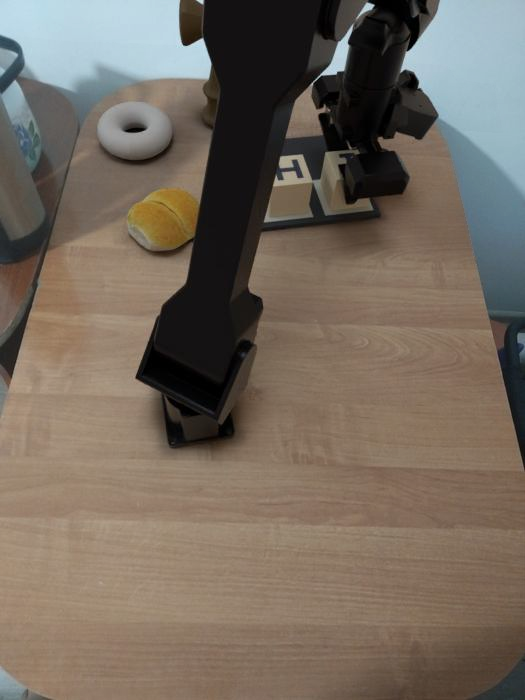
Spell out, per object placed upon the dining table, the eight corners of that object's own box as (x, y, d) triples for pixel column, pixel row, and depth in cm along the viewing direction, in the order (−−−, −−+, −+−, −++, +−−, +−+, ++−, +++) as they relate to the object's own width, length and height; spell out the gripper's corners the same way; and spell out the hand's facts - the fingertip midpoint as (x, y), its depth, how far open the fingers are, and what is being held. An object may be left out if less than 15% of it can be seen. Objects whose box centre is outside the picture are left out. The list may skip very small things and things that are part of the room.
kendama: (253, 135, 79) (261, -20, 62) (184, 131, 78) (173, -25, 61) (253, 108, 82) (261, -46, 65) (187, 105, 81) (177, -51, 64)
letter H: (307, 213, 70) (313, 181, 66) (269, 217, 69) (272, 185, 65) (298, 185, 73) (302, 153, 68) (260, 189, 72) (262, 157, 68)
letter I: (367, 206, 72) (376, 174, 67) (329, 210, 71) (336, 179, 66) (355, 179, 74) (364, 147, 70) (319, 183, 73) (325, 151, 69)
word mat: (380, 217, 72) (381, 213, 71) (258, 231, 69) (258, 227, 68) (344, 136, 80) (345, 132, 79) (234, 146, 77) (234, 142, 76)
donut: (164, 114, 80) (93, 122, 78) (163, 92, 77) (89, 100, 75) (180, 160, 75) (105, 170, 73) (179, 138, 72) (101, 148, 70)
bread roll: (216, 225, 69) (216, 201, 66) (160, 263, 65) (157, 240, 62) (172, 190, 72) (169, 165, 68) (116, 225, 68) (110, 201, 65)
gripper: (478, 124, 55) (428, 235, 68) (412, 21, 64) (380, 136, 77) (370, 134, 53) (341, 246, 66) (319, 26, 62) (302, 143, 76)
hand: (343, 189), depth 72 cm, fingers closed on letter I, 5 cm apart
